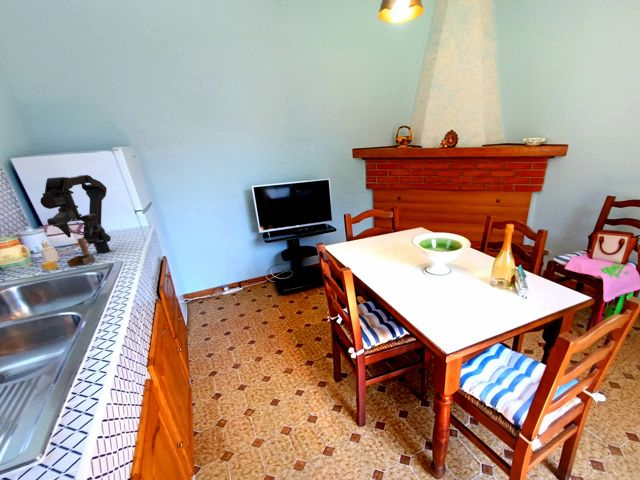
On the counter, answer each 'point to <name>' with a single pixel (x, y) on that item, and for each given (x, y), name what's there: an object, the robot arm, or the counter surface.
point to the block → (49, 265)
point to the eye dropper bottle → (48, 252)
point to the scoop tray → (83, 259)
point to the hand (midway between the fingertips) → (80, 236)
